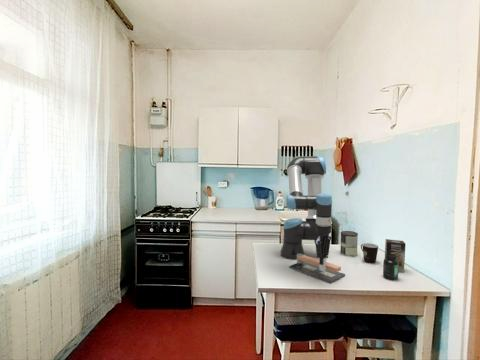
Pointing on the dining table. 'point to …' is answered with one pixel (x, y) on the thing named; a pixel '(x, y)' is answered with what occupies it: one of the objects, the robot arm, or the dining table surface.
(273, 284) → the dining table surface
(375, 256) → the coffee mug
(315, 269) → the label plate
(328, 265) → the swing bar
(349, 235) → the coffee can
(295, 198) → the robot arm
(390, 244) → the coffee box
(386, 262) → the supplement bottle
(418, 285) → the dining table surface
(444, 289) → the dining table surface
